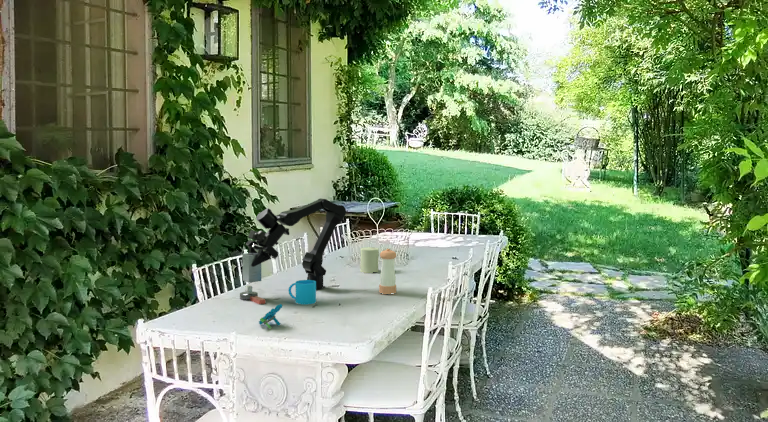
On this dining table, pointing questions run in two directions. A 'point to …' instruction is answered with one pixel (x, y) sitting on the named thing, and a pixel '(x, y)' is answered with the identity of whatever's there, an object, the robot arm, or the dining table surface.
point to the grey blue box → (250, 268)
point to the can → (369, 260)
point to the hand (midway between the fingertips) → (248, 265)
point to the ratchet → (251, 296)
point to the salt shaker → (387, 272)
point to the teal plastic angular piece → (270, 316)
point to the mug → (304, 291)
